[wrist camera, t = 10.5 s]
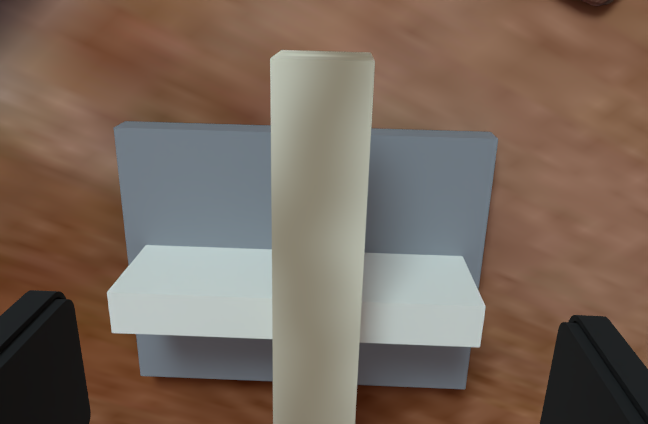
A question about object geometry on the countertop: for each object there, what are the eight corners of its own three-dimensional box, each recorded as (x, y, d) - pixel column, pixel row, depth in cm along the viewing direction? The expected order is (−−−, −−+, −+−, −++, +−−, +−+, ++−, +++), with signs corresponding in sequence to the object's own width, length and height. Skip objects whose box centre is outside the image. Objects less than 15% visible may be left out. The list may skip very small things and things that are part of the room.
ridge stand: (490, 132, 28) (531, 168, 22) (460, 372, 33) (486, 457, 26) (125, 121, 28) (64, 154, 22) (149, 359, 33) (104, 440, 27)
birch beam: (370, 52, 20) (375, 61, 17) (346, 513, 28) (346, 575, 25) (281, 50, 20) (270, 58, 17) (281, 510, 28) (274, 571, 25)
